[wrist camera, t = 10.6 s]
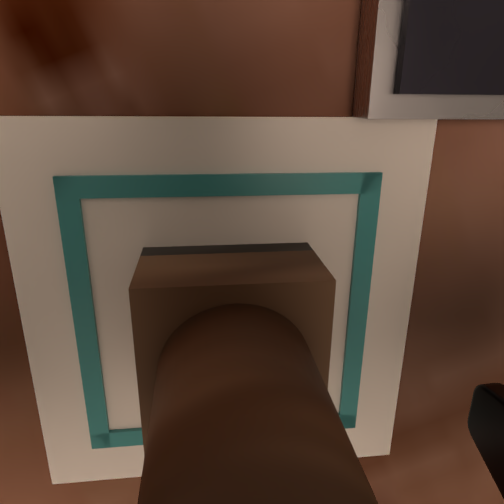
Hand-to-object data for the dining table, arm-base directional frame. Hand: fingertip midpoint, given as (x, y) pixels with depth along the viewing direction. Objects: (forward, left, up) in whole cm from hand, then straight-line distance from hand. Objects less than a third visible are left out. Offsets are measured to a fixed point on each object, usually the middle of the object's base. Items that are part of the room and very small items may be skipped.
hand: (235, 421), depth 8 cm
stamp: (0, 0, -4) cm, 4 cm away
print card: (0, 0, -4) cm, 4 cm away
